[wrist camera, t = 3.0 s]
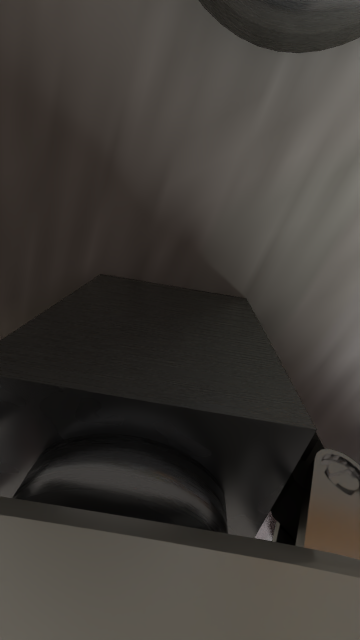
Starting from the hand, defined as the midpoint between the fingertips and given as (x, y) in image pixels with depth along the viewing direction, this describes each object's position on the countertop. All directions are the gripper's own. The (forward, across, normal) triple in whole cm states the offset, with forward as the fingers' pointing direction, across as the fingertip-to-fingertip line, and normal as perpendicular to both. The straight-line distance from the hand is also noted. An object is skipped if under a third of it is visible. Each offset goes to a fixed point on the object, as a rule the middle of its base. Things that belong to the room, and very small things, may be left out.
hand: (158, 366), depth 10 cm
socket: (+2, 0, 0) cm, 2 cm away
